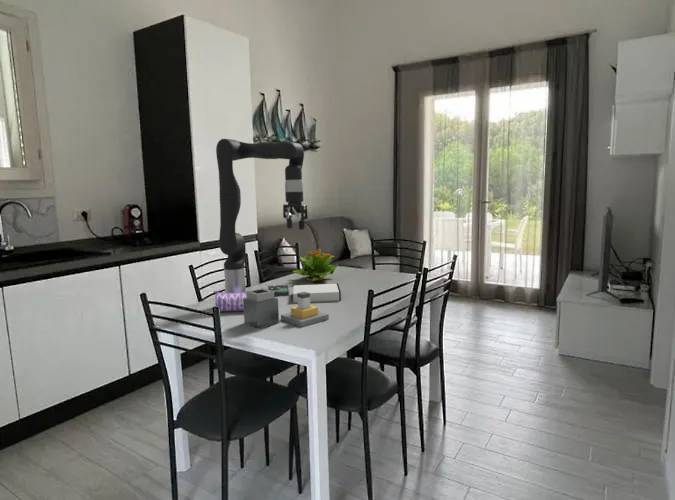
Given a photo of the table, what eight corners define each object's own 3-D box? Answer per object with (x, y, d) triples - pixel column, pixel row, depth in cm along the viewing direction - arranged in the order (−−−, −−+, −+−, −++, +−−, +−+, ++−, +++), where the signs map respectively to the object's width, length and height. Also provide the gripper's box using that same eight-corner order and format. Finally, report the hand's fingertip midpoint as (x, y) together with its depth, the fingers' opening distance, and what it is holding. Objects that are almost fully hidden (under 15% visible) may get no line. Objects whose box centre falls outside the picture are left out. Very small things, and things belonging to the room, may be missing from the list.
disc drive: (341, 301, 214) (340, 291, 213) (293, 303, 213) (292, 293, 212) (338, 292, 232) (338, 283, 231) (294, 294, 230) (293, 284, 229)
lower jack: (280, 319, 187) (280, 307, 186) (307, 312, 196) (307, 301, 195) (301, 326, 177) (300, 314, 176) (328, 319, 186) (328, 307, 185)
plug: (298, 314, 186) (297, 293, 185) (305, 312, 189) (304, 291, 187) (303, 316, 184) (302, 294, 182) (310, 314, 186) (309, 293, 185)
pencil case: (265, 305, 209) (264, 285, 208) (266, 311, 200) (265, 290, 199) (215, 309, 205) (214, 289, 203) (214, 315, 196) (213, 294, 194)
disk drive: (267, 291, 240) (268, 297, 225) (267, 285, 239) (268, 291, 225) (287, 289, 241) (289, 296, 227) (287, 284, 241) (289, 290, 226)
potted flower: (286, 282, 255) (285, 252, 252) (301, 274, 277) (300, 246, 275) (328, 284, 248) (327, 253, 245) (340, 275, 270) (340, 246, 267)
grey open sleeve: (244, 322, 184) (242, 291, 182) (265, 317, 190) (263, 287, 188) (257, 328, 176) (255, 295, 174) (279, 322, 183) (277, 291, 181)
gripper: (277, 191, 194) (278, 228, 197) (297, 191, 184) (298, 230, 186) (291, 190, 199) (292, 227, 201) (311, 190, 188) (312, 229, 191)
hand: (295, 228), depth 194 cm, fingers open, 8 cm apart
